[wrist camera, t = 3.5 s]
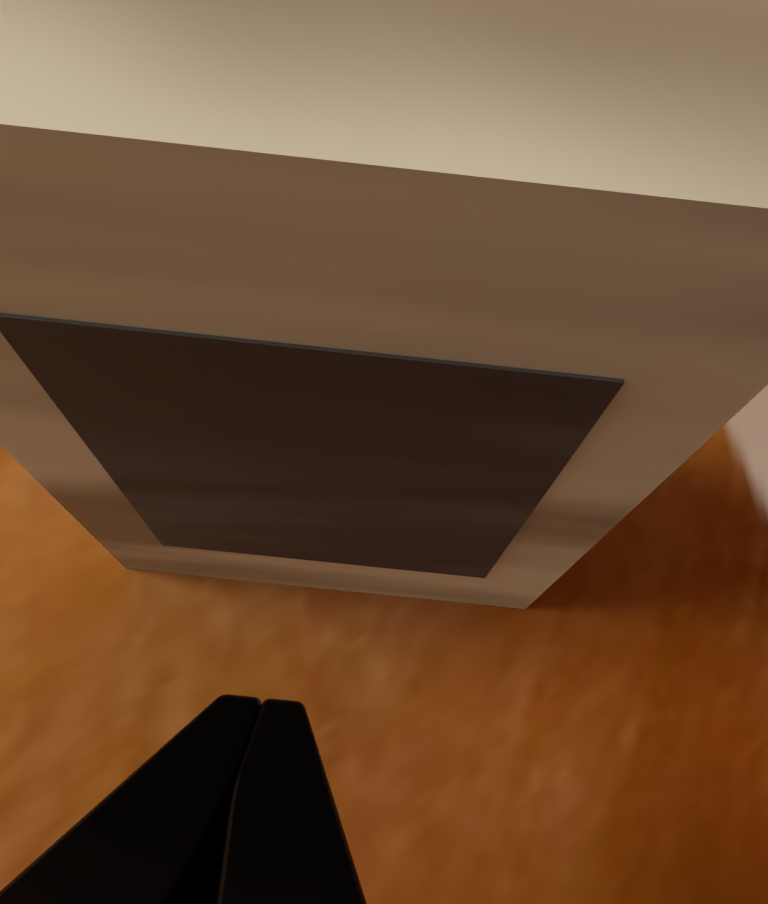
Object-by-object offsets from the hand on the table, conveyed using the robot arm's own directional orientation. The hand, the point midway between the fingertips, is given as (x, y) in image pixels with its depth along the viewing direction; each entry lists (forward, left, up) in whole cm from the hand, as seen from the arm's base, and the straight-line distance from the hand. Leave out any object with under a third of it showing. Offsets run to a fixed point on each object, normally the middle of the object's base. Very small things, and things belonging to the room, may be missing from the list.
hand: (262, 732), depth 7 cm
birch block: (+6, 0, -9) cm, 11 cm away
